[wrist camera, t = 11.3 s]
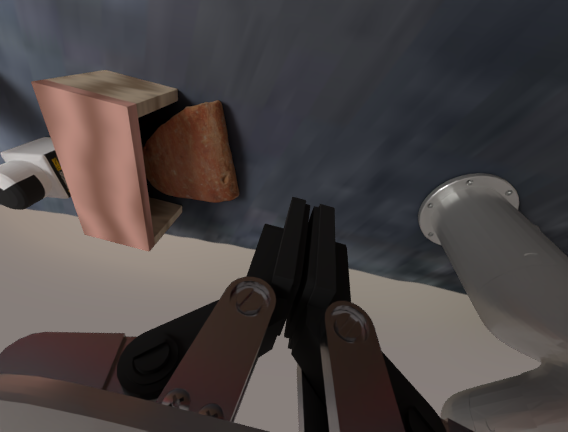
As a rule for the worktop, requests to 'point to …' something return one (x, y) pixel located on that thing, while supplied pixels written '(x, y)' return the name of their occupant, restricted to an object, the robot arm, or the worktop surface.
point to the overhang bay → (107, 152)
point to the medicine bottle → (31, 174)
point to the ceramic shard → (192, 156)
